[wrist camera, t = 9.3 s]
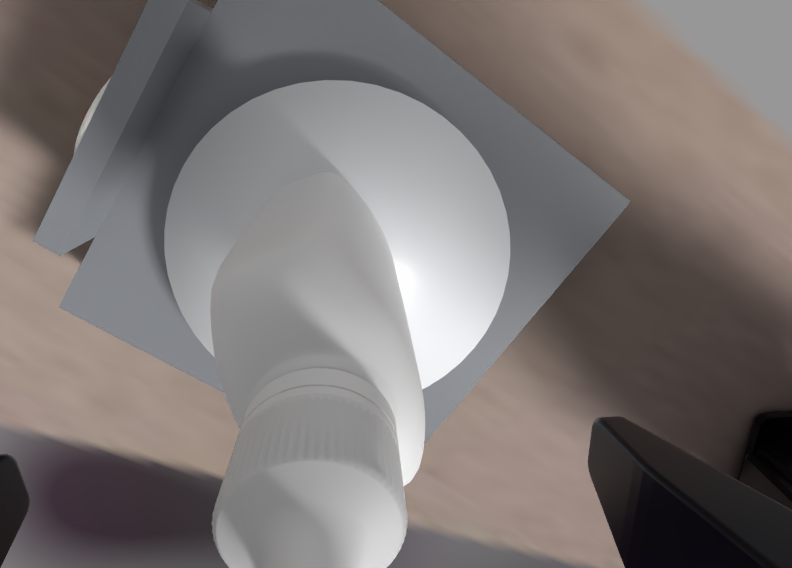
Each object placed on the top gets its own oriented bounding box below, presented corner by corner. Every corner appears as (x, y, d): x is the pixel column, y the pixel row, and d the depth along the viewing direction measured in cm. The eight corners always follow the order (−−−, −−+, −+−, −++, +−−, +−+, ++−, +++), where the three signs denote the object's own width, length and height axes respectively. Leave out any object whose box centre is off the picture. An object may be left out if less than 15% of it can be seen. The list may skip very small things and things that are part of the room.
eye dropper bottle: (260, 330, 17) (76, 812, 6) (275, 159, 15) (37, 381, 4) (390, 345, 17) (456, 808, 6) (420, 182, 15) (593, 435, 4)
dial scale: (593, 186, 20) (663, 215, 15) (390, 434, 24) (395, 519, 19) (253, -83, 16) (207, -152, 11) (75, 262, 20) (-14, 315, 15)
